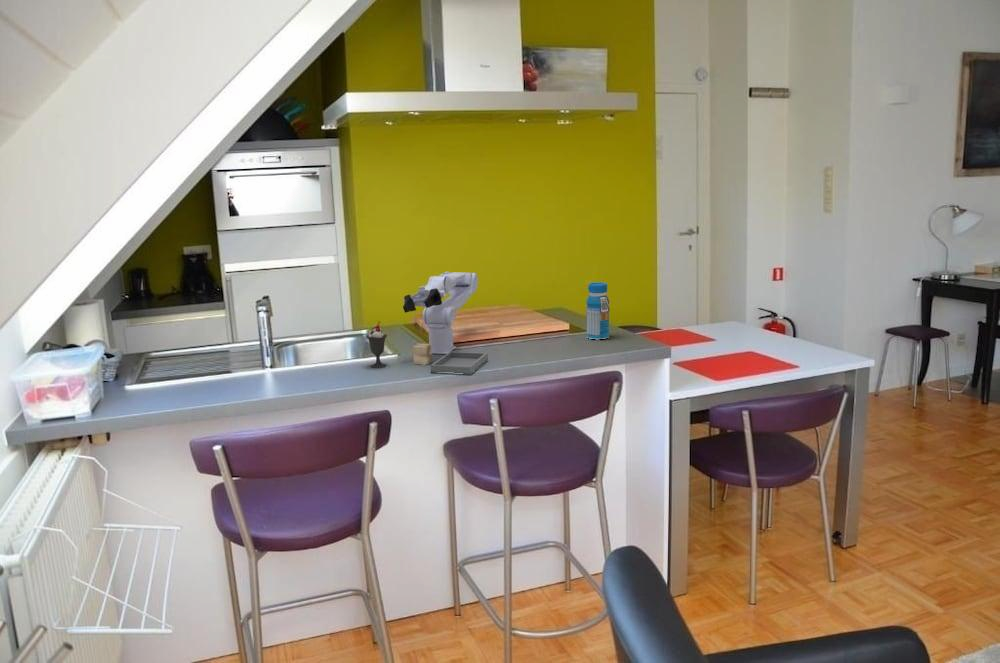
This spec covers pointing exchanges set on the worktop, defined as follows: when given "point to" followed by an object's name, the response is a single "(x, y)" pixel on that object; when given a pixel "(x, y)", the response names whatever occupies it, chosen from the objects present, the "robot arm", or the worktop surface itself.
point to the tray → (459, 362)
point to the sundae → (377, 344)
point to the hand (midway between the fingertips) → (415, 307)
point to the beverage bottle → (597, 311)
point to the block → (422, 353)
